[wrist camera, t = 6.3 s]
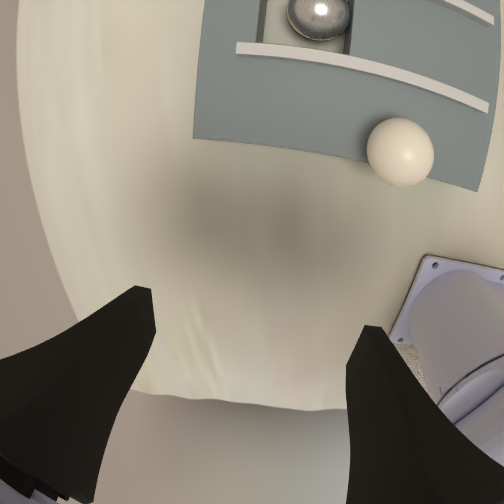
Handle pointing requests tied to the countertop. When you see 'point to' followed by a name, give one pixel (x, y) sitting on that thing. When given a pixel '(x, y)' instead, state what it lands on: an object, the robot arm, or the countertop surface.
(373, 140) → the cream ball
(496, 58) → the grey board with rails
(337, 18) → the steel ball
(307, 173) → the countertop surface
